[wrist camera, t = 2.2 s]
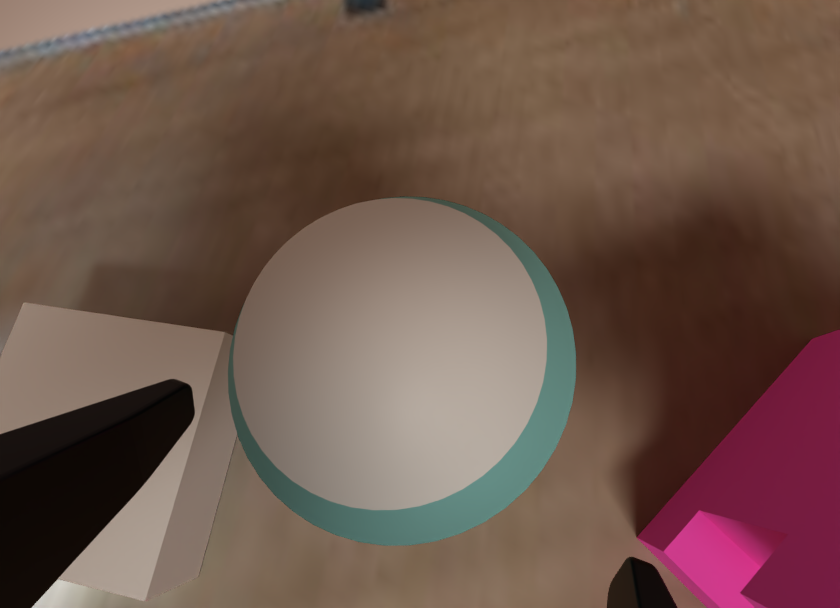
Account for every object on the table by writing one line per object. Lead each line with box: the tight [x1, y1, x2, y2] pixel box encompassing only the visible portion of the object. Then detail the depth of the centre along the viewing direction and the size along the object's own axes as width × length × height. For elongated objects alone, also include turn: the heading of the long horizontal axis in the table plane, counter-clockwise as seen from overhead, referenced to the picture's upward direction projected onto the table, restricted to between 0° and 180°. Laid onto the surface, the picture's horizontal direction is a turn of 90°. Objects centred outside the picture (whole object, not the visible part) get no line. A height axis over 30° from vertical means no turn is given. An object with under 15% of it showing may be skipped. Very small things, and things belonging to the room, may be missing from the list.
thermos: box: [228, 196, 576, 545], centre depth 12 cm, size 5×5×13 cm
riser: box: [0, 302, 237, 601], centre depth 18 cm, size 9×9×3 cm
